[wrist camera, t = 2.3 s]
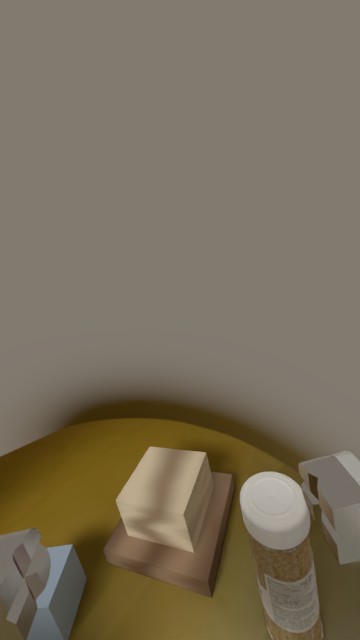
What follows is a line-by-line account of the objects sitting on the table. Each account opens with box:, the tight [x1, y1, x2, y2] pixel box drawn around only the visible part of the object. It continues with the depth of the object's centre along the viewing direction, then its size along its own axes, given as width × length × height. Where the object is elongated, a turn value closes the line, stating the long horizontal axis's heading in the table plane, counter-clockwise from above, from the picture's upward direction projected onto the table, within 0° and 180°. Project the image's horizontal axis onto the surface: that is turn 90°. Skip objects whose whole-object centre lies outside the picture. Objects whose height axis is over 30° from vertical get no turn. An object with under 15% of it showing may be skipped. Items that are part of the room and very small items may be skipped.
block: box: [26, 544, 87, 640], centre depth 26 cm, size 5×5×5 cm
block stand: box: [103, 447, 235, 597], centre depth 32 cm, size 12×12×7 cm
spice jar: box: [240, 472, 324, 640], centre depth 20 cm, size 5×5×13 cm
